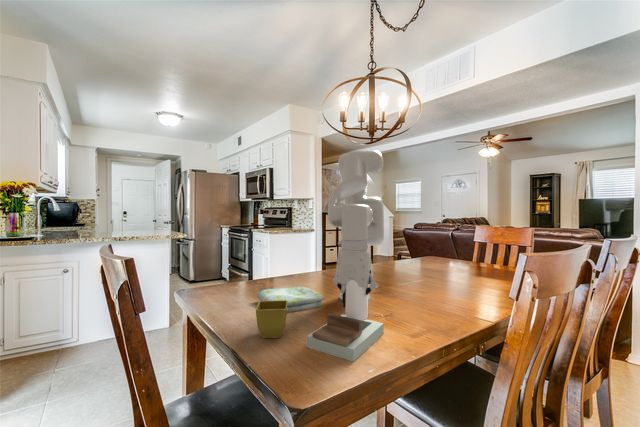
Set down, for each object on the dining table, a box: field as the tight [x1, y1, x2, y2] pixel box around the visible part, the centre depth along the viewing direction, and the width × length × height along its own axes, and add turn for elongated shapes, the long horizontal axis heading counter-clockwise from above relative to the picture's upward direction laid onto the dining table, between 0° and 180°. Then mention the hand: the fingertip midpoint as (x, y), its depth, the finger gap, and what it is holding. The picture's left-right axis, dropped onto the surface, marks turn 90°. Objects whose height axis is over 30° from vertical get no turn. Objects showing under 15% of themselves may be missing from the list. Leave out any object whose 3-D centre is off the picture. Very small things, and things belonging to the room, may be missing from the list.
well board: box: [306, 314, 385, 362], centre depth 85 cm, size 20×14×3 cm
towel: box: [257, 286, 325, 314], centre depth 118 cm, size 18×21×5 cm
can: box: [345, 278, 369, 321], centre depth 88 cm, size 6×6×12 cm
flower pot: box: [255, 300, 288, 339], centre depth 88 cm, size 9×9×9 cm
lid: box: [311, 313, 363, 346], centre depth 80 cm, size 9×10×4 cm
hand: (354, 307), depth 89 cm, fingers closed on can, 4 cm apart
